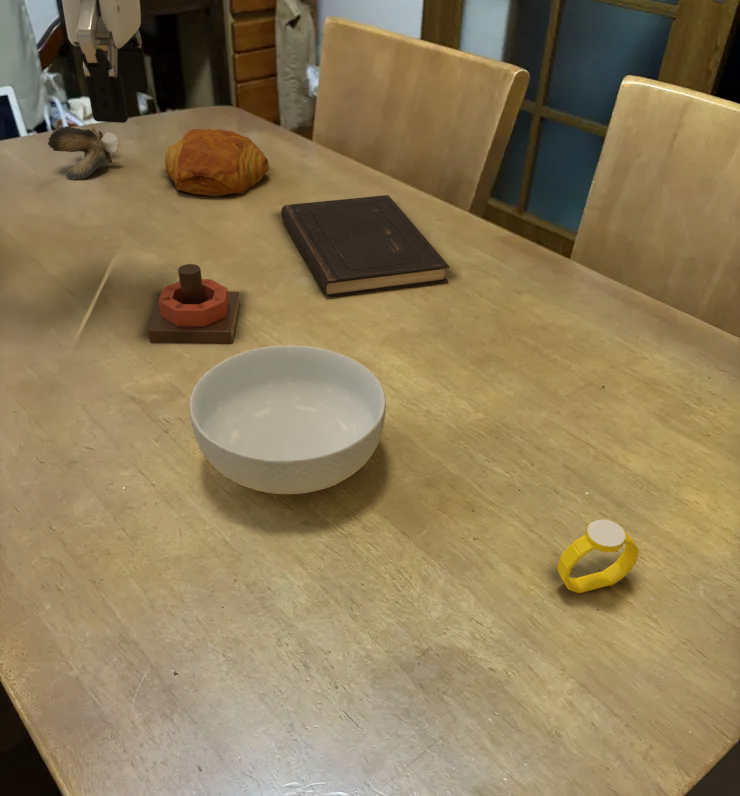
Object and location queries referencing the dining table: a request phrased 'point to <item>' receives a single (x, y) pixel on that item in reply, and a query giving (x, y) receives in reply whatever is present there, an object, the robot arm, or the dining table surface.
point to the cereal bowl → (288, 418)
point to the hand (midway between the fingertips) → (122, 105)
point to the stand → (194, 295)
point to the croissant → (215, 163)
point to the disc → (194, 305)
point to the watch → (605, 540)
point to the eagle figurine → (84, 148)
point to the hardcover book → (362, 246)
